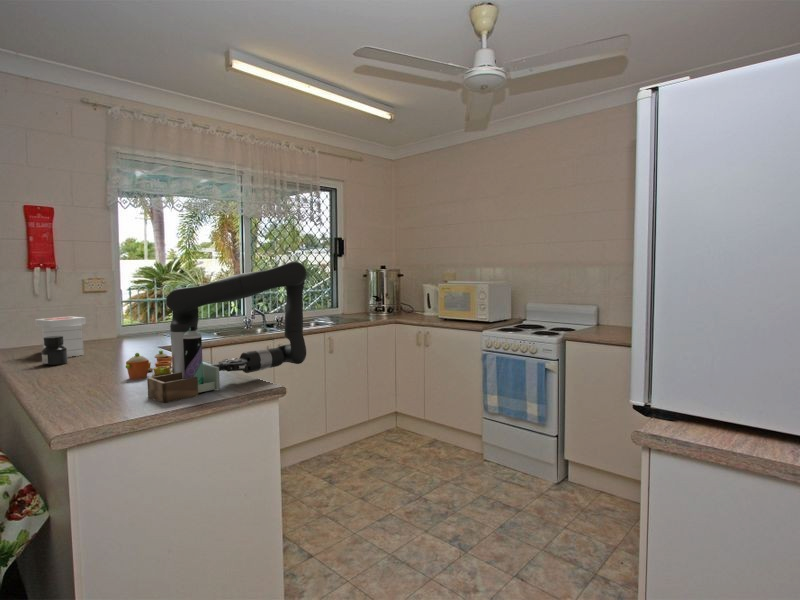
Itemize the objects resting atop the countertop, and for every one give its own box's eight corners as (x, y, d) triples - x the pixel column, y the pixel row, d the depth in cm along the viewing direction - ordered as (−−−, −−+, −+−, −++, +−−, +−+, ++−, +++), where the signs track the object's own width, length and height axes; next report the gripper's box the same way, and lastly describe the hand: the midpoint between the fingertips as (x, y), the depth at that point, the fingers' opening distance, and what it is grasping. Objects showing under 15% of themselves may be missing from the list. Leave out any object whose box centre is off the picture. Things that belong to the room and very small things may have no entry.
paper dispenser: (82, 348, 244) (80, 314, 243) (89, 355, 221) (86, 318, 220) (36, 352, 232) (34, 316, 231) (38, 361, 209) (35, 321, 208)
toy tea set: (172, 378, 172) (171, 352, 172) (124, 382, 166) (122, 356, 166) (176, 365, 196) (175, 342, 196) (134, 368, 190) (133, 345, 190)
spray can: (183, 390, 148) (181, 328, 146) (186, 386, 153) (184, 326, 152) (202, 388, 149) (199, 327, 148) (204, 384, 155) (202, 325, 153)
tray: (171, 390, 151) (170, 368, 151) (202, 383, 159) (202, 363, 159) (188, 396, 144) (186, 373, 143) (219, 389, 152) (219, 367, 151)
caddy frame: (148, 396, 146) (147, 378, 145) (181, 389, 154) (180, 372, 153) (163, 403, 138) (162, 383, 138) (198, 395, 146) (197, 376, 146)
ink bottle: (45, 363, 204) (44, 336, 203) (70, 361, 207) (68, 334, 207) (39, 367, 195) (37, 339, 194) (64, 365, 199) (63, 337, 198)
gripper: (245, 348, 172) (200, 355, 159) (266, 352, 164) (219, 360, 151) (246, 368, 173) (201, 377, 160) (266, 373, 164) (220, 382, 151)
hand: (210, 368), depth 155 cm, fingers closed
